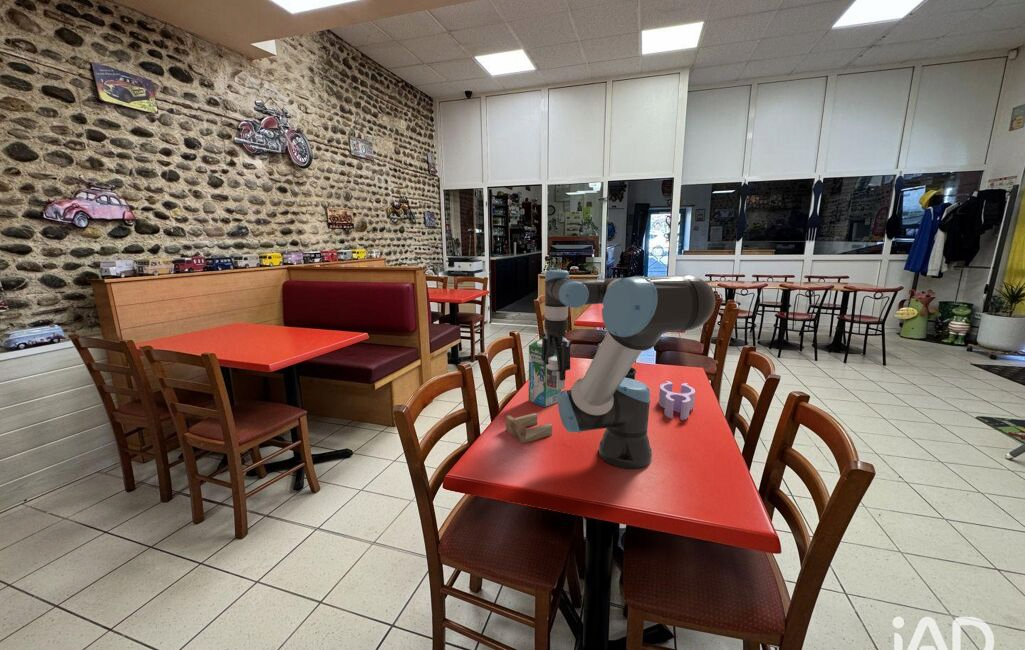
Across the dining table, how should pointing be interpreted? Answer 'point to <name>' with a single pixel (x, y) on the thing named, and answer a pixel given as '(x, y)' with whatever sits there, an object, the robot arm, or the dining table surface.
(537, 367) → the milk carton
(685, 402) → the clip
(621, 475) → the dining table surface
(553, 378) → the pill bottle
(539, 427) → the channel
